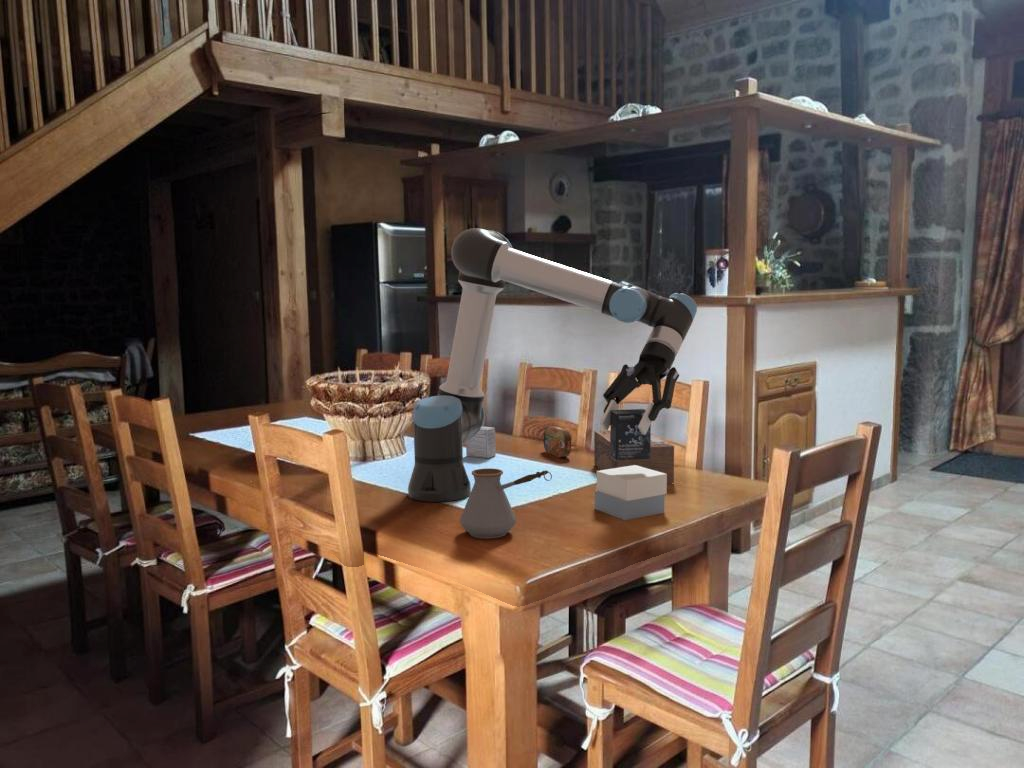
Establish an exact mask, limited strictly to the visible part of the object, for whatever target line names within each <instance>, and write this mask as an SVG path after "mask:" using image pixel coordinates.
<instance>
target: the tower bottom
mask: <svg viewBox="0 0 1024 768" xmlns="http://www.w3.org/2000/svg"><path fill="white" fill-rule="evenodd" d="M594 510H597V511H599V512H602V513H605V514H607V515H610V516H613V517H615V518H618V519H620V520H623V521H627V520H632V519H637V518H638V519H640V518H643V517H649V516H655V515H660V514H664V513H665V494H663V495H658V496H652V497H646V498H641V499H636V500H630V501H626V500H623V499H620V498H617V497H614V496H611V495H608V494H605V493H602V492H599V491H597V489H596V490H594Z"/></svg>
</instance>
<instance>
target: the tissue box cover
mask: <svg viewBox="0 0 1024 768" xmlns="http://www.w3.org/2000/svg"><path fill="white" fill-rule="evenodd" d="M593 433H594V438H593V439H594V449H593V450H594V451H593V453H594V454H593V455H594V456H593V457H594V461H593V463H594V464H595V465H596V466H597V467H598V468H599V469H600V470H606V469H613V468H619V467H626V466H632V465H637V466H640V467H644V468H648V469H651V470H655V471H658V472H662V473H665V474H667V485H673V484H672V483H674V484H675V474H674V473H675V445H673V444H671V443H670V442H668V441H666V440H664V439H662V438H661V437H659V436H657V435H655V434H654V433H653V432H651V441H650V443H651V444H650V445H651V446H650V459H636V460H619V461H616V460H615V459H614V458H612V457H611V456H610V429H608V430H605V429H603V430H594V431H593ZM595 465H594V466H595ZM596 466H595V467H596ZM597 467H596V468H597ZM598 468H597V469H598ZM599 469H598V470H599ZM600 470H599V471H600Z"/></svg>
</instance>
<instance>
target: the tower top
mask: <svg viewBox="0 0 1024 768" xmlns="http://www.w3.org/2000/svg"><path fill="white" fill-rule="evenodd" d="M596 490H597V491H599V492H602V493H605V494H608V495H611V496H614V497H617V498H620V499H623V500H626V501H630V500H636V499H641V498H646V497H652V496H658V495H663V494H664V495H667V493H668V491H667V490H668V484H667V474H665V473H662V472H658V471H655V470H651V469H648V468H644V467H640V466H637V465H632V466H626V467H619V468H613V469H606V470H596Z"/></svg>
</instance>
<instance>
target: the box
mask: <svg viewBox="0 0 1024 768" xmlns="http://www.w3.org/2000/svg"><path fill="white" fill-rule="evenodd" d="M645 411H646V409H644V408H634V409H618V410H611V425H610V427H609V430H610V456H611V457H612V458H614V459H615V460H616V461H619V460H636V459H650V446H651V445H650V444H651V443H650V441H651V433H652V431H651V430H652V429H651V428H652V427H651V426H652V425H651V424H652V423H651V424H650V426H649V429H648V431H647V433H646V435H643V434H642V433H641V431H640V430H639V428H638V425H639V423H640V421H641V419H642V417H643V415H644V413H645Z"/></svg>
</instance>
